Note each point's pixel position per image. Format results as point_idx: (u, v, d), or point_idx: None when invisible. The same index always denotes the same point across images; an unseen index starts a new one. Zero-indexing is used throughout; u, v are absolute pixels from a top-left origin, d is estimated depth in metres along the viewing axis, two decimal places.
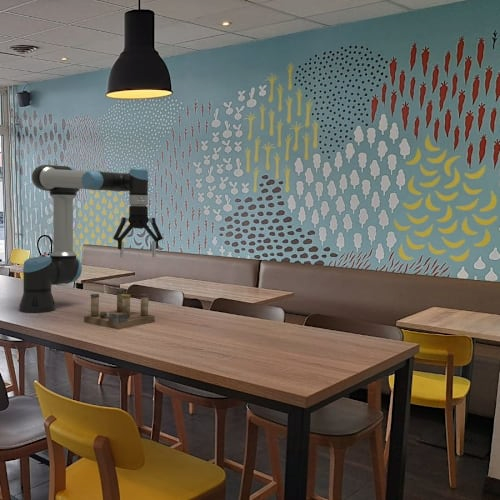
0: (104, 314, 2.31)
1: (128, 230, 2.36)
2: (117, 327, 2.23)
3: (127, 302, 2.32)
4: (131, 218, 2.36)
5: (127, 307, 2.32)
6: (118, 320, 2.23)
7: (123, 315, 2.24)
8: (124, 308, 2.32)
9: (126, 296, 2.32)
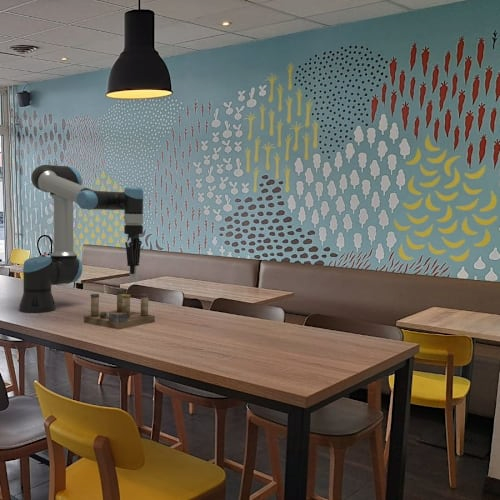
0: (104, 314, 2.31)
1: None
2: (117, 327, 2.23)
3: (127, 302, 2.32)
4: None
5: (127, 307, 2.32)
6: (118, 320, 2.23)
7: (123, 315, 2.24)
8: (124, 308, 2.32)
9: (126, 296, 2.32)
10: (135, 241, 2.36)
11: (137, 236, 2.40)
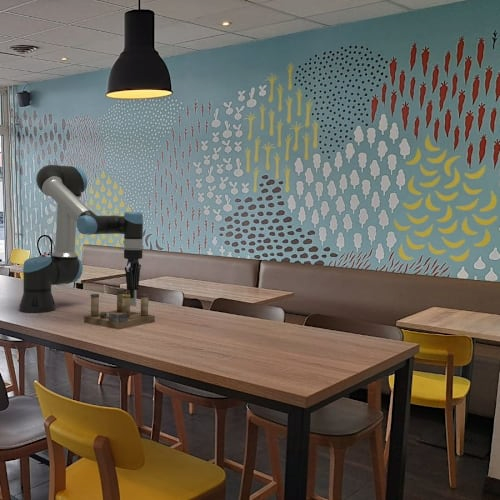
0: (104, 314, 2.31)
1: None
2: (117, 327, 2.23)
3: (127, 302, 2.32)
4: None
5: (127, 307, 2.32)
6: (118, 320, 2.23)
7: (123, 315, 2.24)
8: (124, 308, 2.32)
9: (126, 296, 2.32)
10: (134, 266, 2.37)
11: (136, 260, 2.41)
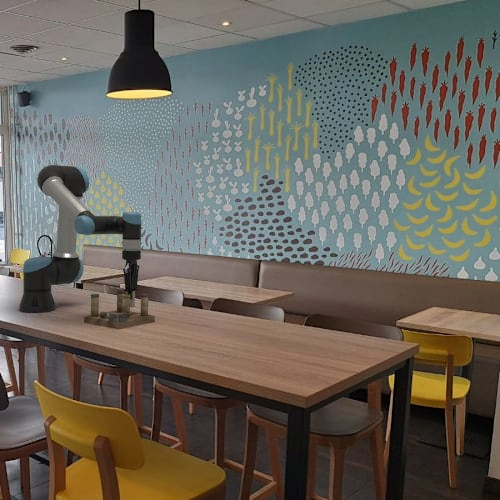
0: (104, 314, 2.31)
1: None
2: (117, 327, 2.23)
3: (127, 302, 2.32)
4: None
5: (127, 307, 2.32)
6: (118, 320, 2.23)
7: (123, 315, 2.24)
8: (124, 308, 2.32)
9: (126, 296, 2.32)
10: (133, 267, 2.34)
11: (135, 261, 2.38)
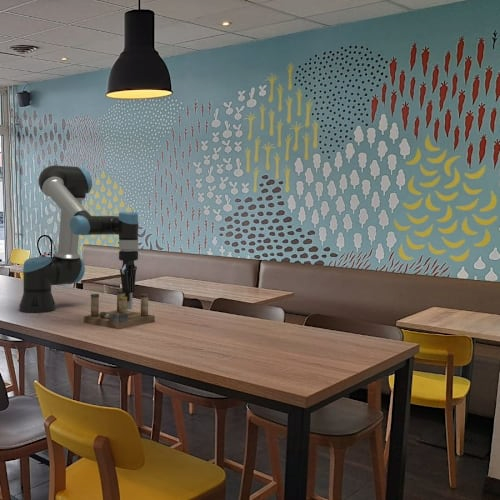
0: (102, 314, 2.30)
1: None
2: (117, 327, 2.23)
3: (122, 305, 2.27)
4: None
5: (122, 309, 2.27)
6: (118, 320, 2.23)
7: (123, 315, 2.24)
8: (119, 310, 2.28)
9: (121, 298, 2.27)
10: (130, 267, 2.29)
11: (132, 262, 2.32)
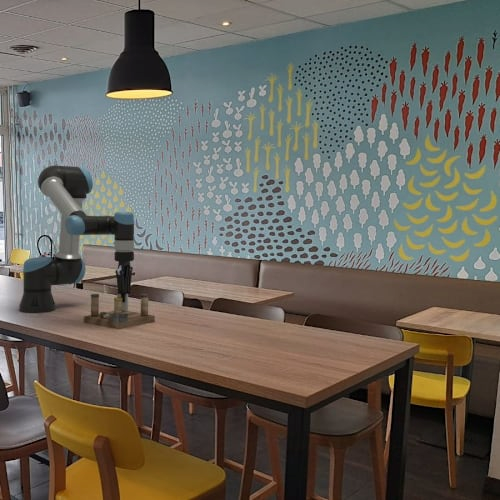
0: (101, 314, 2.30)
1: None
2: (117, 327, 2.23)
3: (115, 306, 2.24)
4: None
5: (115, 310, 2.24)
6: (118, 320, 2.23)
7: (123, 315, 2.24)
8: (114, 311, 2.25)
9: (115, 299, 2.24)
10: (126, 268, 2.26)
11: (128, 263, 2.30)
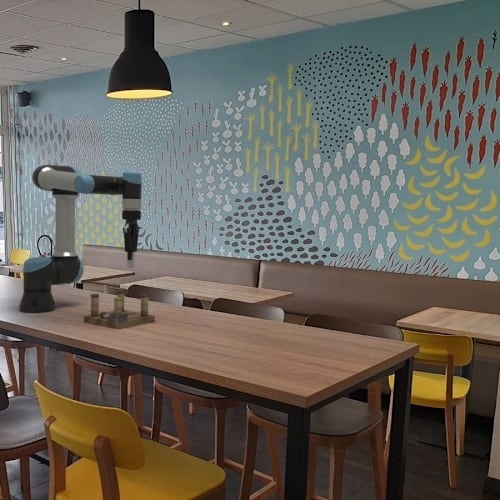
0: (101, 314, 2.30)
1: None
2: (117, 327, 2.23)
3: (115, 306, 2.24)
4: None
5: (116, 310, 2.24)
6: (118, 320, 2.23)
7: (123, 315, 2.24)
8: (114, 311, 2.25)
9: (115, 299, 2.24)
10: (133, 227, 2.32)
11: (135, 222, 2.35)
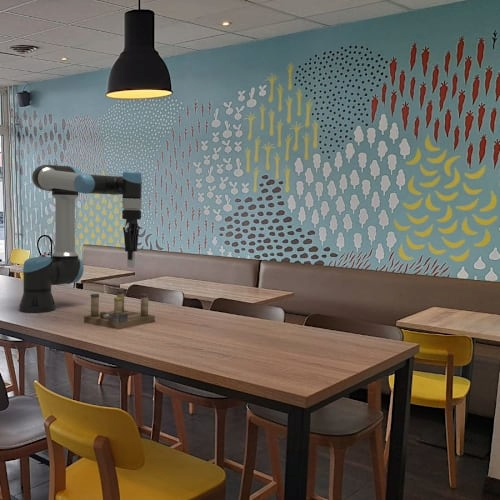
0: (101, 314, 2.30)
1: None
2: (117, 327, 2.23)
3: (115, 306, 2.24)
4: None
5: (116, 310, 2.24)
6: (118, 320, 2.23)
7: (123, 315, 2.24)
8: (114, 311, 2.25)
9: (115, 299, 2.24)
10: (133, 226, 2.32)
11: (135, 221, 2.35)
